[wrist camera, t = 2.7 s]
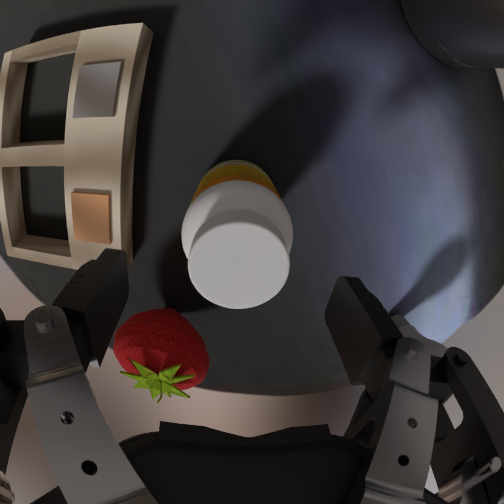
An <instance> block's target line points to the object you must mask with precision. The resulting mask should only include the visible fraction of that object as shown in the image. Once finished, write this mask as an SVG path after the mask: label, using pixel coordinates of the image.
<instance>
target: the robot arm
mask: <svg viewBox="0 0 504 504" xmlns="http://www.w3.org/2000/svg"><path fill="white" fill-rule="evenodd" d="M401 6H402V10H403V12H404V15H405V18H406V20H407V22H408V24H409V26H410V28H411V29H412V31H413V33H414V34H415V36H416V37H417V39H418V40H419V41H420V42H421V44H422V45H423V46H424V47H425V48H426V49H427V50H428V51H429V52H430V53H431V54H432V55H433V56H434V57H436V58H437V59H438V60H439V61H441V62H443V63H445V64H446V65H448V66H452V67H455V68H473V67H481V68H502V69H504V0H401ZM128 293H129V284H128V269H127V254H126V251H125V250H119V249H111V248H105V249H104V250H103V252H102V253H101V254H100V255H99V257H98V258H97V259H96V260H93V259H92V260H90V261H88V262H87V263H85V264H83V265H82V266H81V267H80V268H79V269H78V270H77V272H76V273H75V276H73V277H72V278H71V279H70V282H68V283H67V285H66V286H65V287H64V289H63V290H62V291H61V293H60V294H59V295H58V297H57V298H56V300H55V301H54V302H53V304H52V305H46V306H41V307H38V308H36V309H34V310H32V311H31V312H30V313H29V314H28V315H27V316H26V318H25V320H9V321H8V320H6V318H5V316H4V313H3V311H2V310H1V308H0V504H12V503H13V502H14V500H15V496H14V493H13V491H12V490H11V487H10V484H9V482H8V479H7V478H6V476H5V473H6V469H7V464H8V459H9V455H10V451H11V447H12V443H13V439H14V436H15V433H16V429H17V426H18V423H19V420H20V417H21V414H22V411H23V408H24V405H25V402H26V399H27V397H28V396H29V400H30V405H31V409H32V413H33V416H34V420H35V423H36V426H37V430H38V433H39V436H40V439H41V442H42V445H43V448H44V451H45V454H46V456H47V459H48V461H49V464H50V466H51V469H52V471H53V473H54V476H55V478H56V480H57V483H58V485H59V486H57V487H56V488H54V489H53V490H51V491H49V492H48V493H46V494H45V495H43V496H42V497H40V498H39V499H37V500H35V501H34V502H32V503H30V504H504V412H503V410H502V408H501V407H500V405H499V403H498V401H497V399H496V398H495V396H494V394H493V393H492V391H491V389H490V388H489V386H488V384H487V383H486V381H485V379H484V378H483V376H482V375H481V373H480V371H479V370H478V368H477V367H476V365H475V364H474V362H473V361H472V359H471V358H470V356H469V355H468V354H467V353H466V352H465V351H463V350H461V349H459V348H457V347H450V348H448V349H447V351H446V352H445V354H444V355H443V356H442V357H438V356H433V355H430V353H429V351H428V349H427V348H426V347H425V346H424V345H423V344H422V343H421V342H420V341H418V340H416V339H414V338H410V337H404V336H403V335H402V333H401V332H400V330H399V329H398V327H397V326H396V324H395V323H394V321H393V320H392V318H391V317H390V316H389V315H388V313H387V311H386V310H385V309H383V305H382V304H381V302H380V301H379V300H378V298H377V297H375V296H374V295H373V294H372V293H370V292H369V291H368V290H367V288H366V287H365V286H364V284H363V283H362V281H361V280H360V279H359V278H357V277H347V276H340V277H339V278H338V279H337V281H336V284H335V287H334V289H333V292H332V294H331V297H330V300H329V302H328V305H327V307H326V311H325V321H326V324H327V327H328V329H329V331H330V334H331V336H332V338H333V341H334V343H335V345H336V348H337V350H338V353H339V355H340V358H341V360H342V362H343V365H344V367H345V370H346V372H347V375H348V377H349V380H350V382H351V385H352V386H354V385H365V387H366V388H365V390H364V391H363V392H362V394H361V397H360V399H359V402H358V405H357V407H356V410H355V412H354V414H353V417H352V419H351V421H350V424H349V426H348V428H347V430H346V432H345V434H344V435H343V437H342V436H337V435H331V434H330V430H329V427H328V424H324V425H313V426H301V427H290V428H286V429H283V430H279V431H275V432H271V433H268V434H264V435H260V436H255V437H243V436H238V435H234V434H230V433H226V432H222V431H219V430H215V429H212V428H208V427H204V426H197V425H187V424H178V423H170V422H163V421H160V427H159V432H150V433H143V434H139V435H136V436H132V437H130V438H128V439H125V440H123V441H121V442H118V441H117V439H116V437H115V436H114V433H113V432H112V430H111V428H110V426H109V424H108V422H107V420H106V418H105V416H104V414H103V412H102V410H101V408H100V406H99V404H98V402H97V399H96V397H95V395H94V393H93V390H92V388H91V386H90V383H89V381H88V379H87V376H86V374H85V373H86V371H87V368H88V365H90V366H94V367H98V368H100V366H101V363H102V360H103V358H104V355H105V352H106V350H107V348H108V345H109V343H110V340H111V338H112V335H113V333H114V330H115V328H116V326H117V323H118V321H119V318H120V316H121V314H122V312H123V309H124V307H125V305H126V302H127V299H128ZM452 394H454V396H455V398H456V399H457V401H458V403H459V405H460V407H461V409H462V411H463V421H462V423H461V424H460V425H459V426H458V427H457V428H456V429H454V427H453V425H452V422H451V420H450V418H449V416H448V414H447V412H446V410H445V408H444V406H443V404H444V403H445V402H446V401H447V400H448V399H449V398H450V397H451V396H452ZM430 465H431V468H432V471H433V474H434V477H435V480H436V483H437V486H438V489H439V492H437V493H436V494H433V493H432V492H430V491H429V490H427V489H425V484H426V479H427V475H428V471H429V466H430Z"/></svg>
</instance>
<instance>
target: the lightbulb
mask: <svg viewBox="0 0 504 504" xmlns="http://www.w3.org/2000/svg"><path fill="white" fill-rule="evenodd" d="M391 318H392V320H393V321H394V323H395V324H396V326H397V327H398V329H399V330H400V332H401V333H402V335H403V336H404V337H410V338H414V339H416V340H418V341H420V342H421V343H422V344H423V345H424V346H425V347H426V348H427V349H428V351H429V353H430V355H433V356H438V357H442V356H443V355H444V354H445V352H446V351H447V348H446V347H445V346H444V345H442V344H440V343H438V342H436V341H433V340H430V339H427V338H426V337H424V336H422V335H421V334H420V333H419V332H418V331H417V330H416V328H415V327H414V326H412V325H410V324H409V323H408V321H407V320H406V319H405V318H404V316H403V315H400V314H397V315H394V316H391Z"/></svg>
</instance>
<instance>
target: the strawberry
mask: <svg viewBox="0 0 504 504" xmlns="http://www.w3.org/2000/svg"><path fill="white" fill-rule="evenodd" d="M113 351H114V354H115V356H116V358H117V360H118V361H119V363H120V364H121V366H122V367H123V368H124V369H125V371H126V372H123V371H120V373H122V374H124V375H127V376H128V377H130V378H133V379H135V380H137V381H139V382H138V383H137V384H135V385H134V386H133V387H135V388H146V389H150V391H151V395H152V399H154V398H155V397H156V396H158V395H159V394H160V393H161V396H160V398H159V400H158V401H157V403H159V401H160V400H161V398H162V392H163V393H164V394H166V395H167V396H169V397H171V395H170V393H172V394H175V395H179V396H183V397H187V398H190V396H189V395H186V393H184V392H183V391H181V390H185V389H189V388H191V387H193V386H195V385H197V384H199V383H201V382H202V381H203V380H204V378H205V376H206V374H207V371H208V368H209V362H210V361H209V357H208V354H207V351H206V347H205V344H204V341H203V339H202V337H201V336H200V335H199V333H198V332H197V331H196V330H195V329H194V328H193V326H192V325H191V324H190V323H189V322H188V321H187V320H186V319H185V318H184V317H183V316H181V315H180V313H179V312H178V311H177V310H175V309H173V308H163V309H153V310H149V311H145V312H141V313H138V314H135V315H133V316H131V317H130V318H129V319H128V320H127V321H126V322H125V323H124V324H123V325H122V326H121V327H120V328H118V329H117V331H116V333H115V338H114V348H113Z"/></svg>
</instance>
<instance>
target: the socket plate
mask: <svg viewBox="0 0 504 504" xmlns="http://www.w3.org/2000/svg"><path fill="white" fill-rule="evenodd" d="M153 34H154V33H153V32H152V31H151V30H150V29H149V28H148V27H147V26H146V25H145V24H144V23H133V24H123V25H114V26H106V27H99V28H93V29H88V30H82V31H77V32H73V33H68V34H64V35H60V36H56V37H52V38H48V39H45V40H42V41H38V42H35V43H32V44H29V45H26V46H23V47H20V48H17V49H15V50H12V51H10V52H7V53H5V54H4V59H3V64H2V69H1V74H0V220H1V226H2V232H3V237H4V242H5V247H6V251H7V255H8V256H12V257H17V258H21V259H26V260H31V261H36V262H40V263H45V264H51V265H56V266H61V267H66V268H72V269H77V270H78V269H79V268H80V267H81V266H82V265H83V264H85V263H87V262H88V261H90V260H92V259H93V260H96V259H97V258H98V257H99V255H100V254H101V253H102V252H103V250H104V249H105V248H111V249H119V250H125V251H126V254H127V269H128V268H129V266H130V265H131V263H132V261H133V249H132V194H133V171H134V156H135V144H136V134H137V124H138V116H139V108H140V101H141V94H142V88H143V82H144V76H145V71H146V66H147V61H148V56H149V51H150V47H151V42H152V38H153ZM70 53H76V54H75V59H74V64H73V69H72V75H71V81H70V88H69V95H68V104H67V113H66V126H65V140H52V141H36V142H23V143H20V123H21V109H22V99H23V91H24V84H25V77H26V71H27V66H28V63H32V62H35V61H39V60H43V59H47V58H51V57H56V56H60V55H65V54H70ZM20 166H64V187H65V206H66V219H67V229H68V238H69V241H68V240H61V239H54V238H47V237H40V236H34V235H27V233H26V226H25V220H24V212H23V203H22V193H21V179H20Z"/></svg>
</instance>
